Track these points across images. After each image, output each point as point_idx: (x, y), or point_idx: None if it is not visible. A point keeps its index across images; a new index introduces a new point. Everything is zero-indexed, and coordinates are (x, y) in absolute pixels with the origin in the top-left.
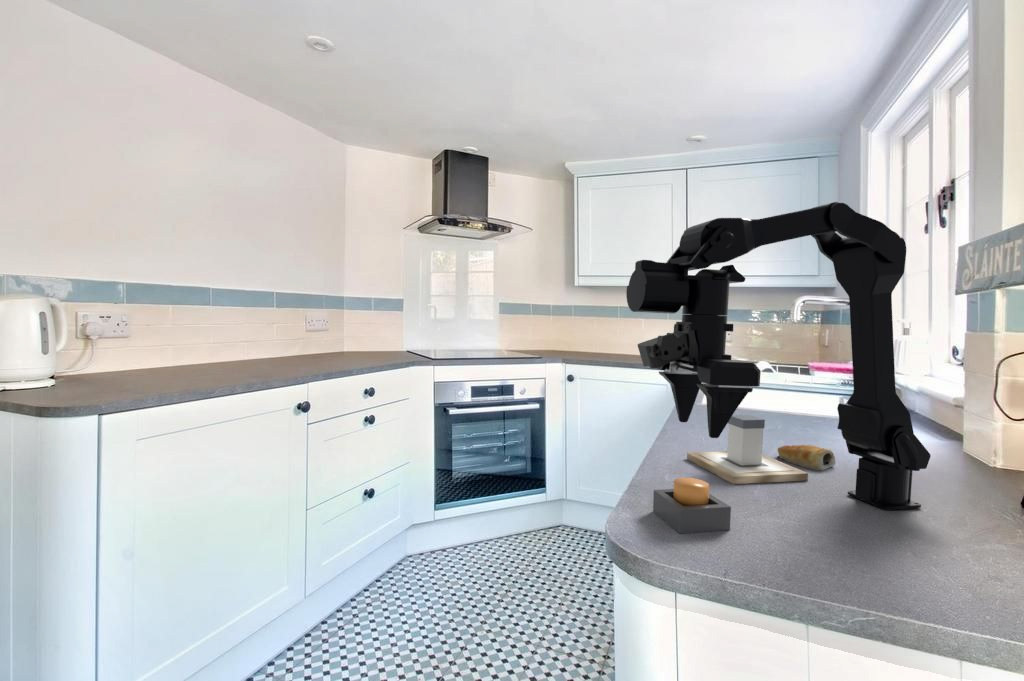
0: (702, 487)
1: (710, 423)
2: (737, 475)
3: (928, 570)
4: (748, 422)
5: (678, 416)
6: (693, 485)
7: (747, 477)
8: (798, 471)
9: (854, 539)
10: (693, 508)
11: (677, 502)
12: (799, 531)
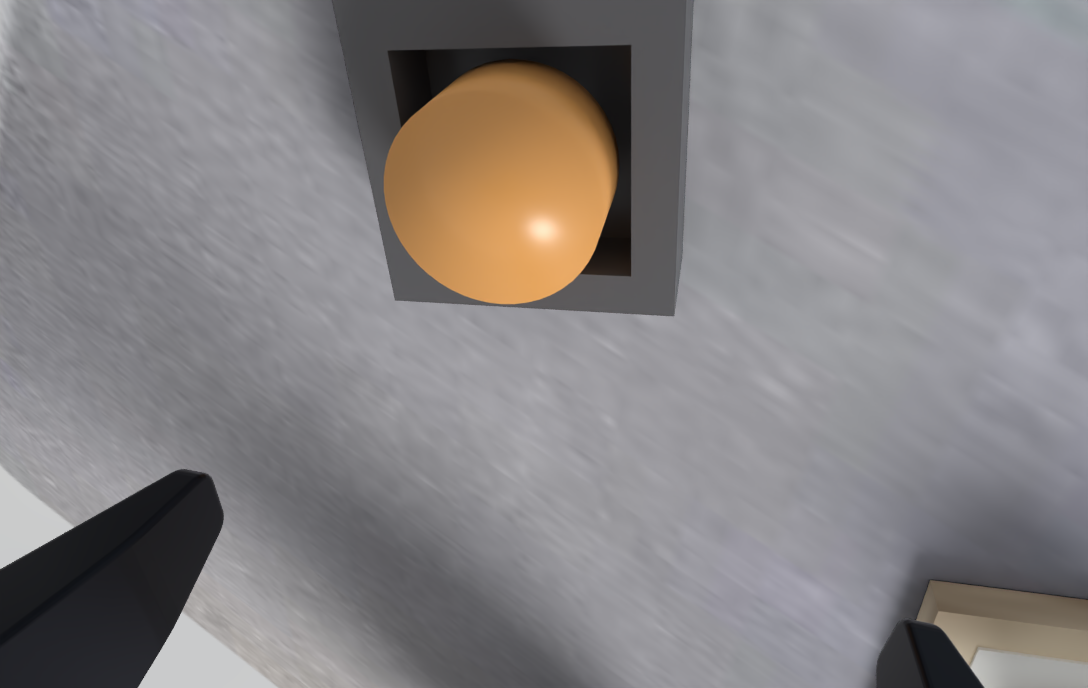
0: (415, 230)
1: (29, 555)
2: (948, 633)
3: (227, 551)
4: None
5: (958, 672)
6: (445, 194)
7: None
8: None
9: (380, 550)
10: (361, 95)
11: (444, 42)
12: (429, 464)
